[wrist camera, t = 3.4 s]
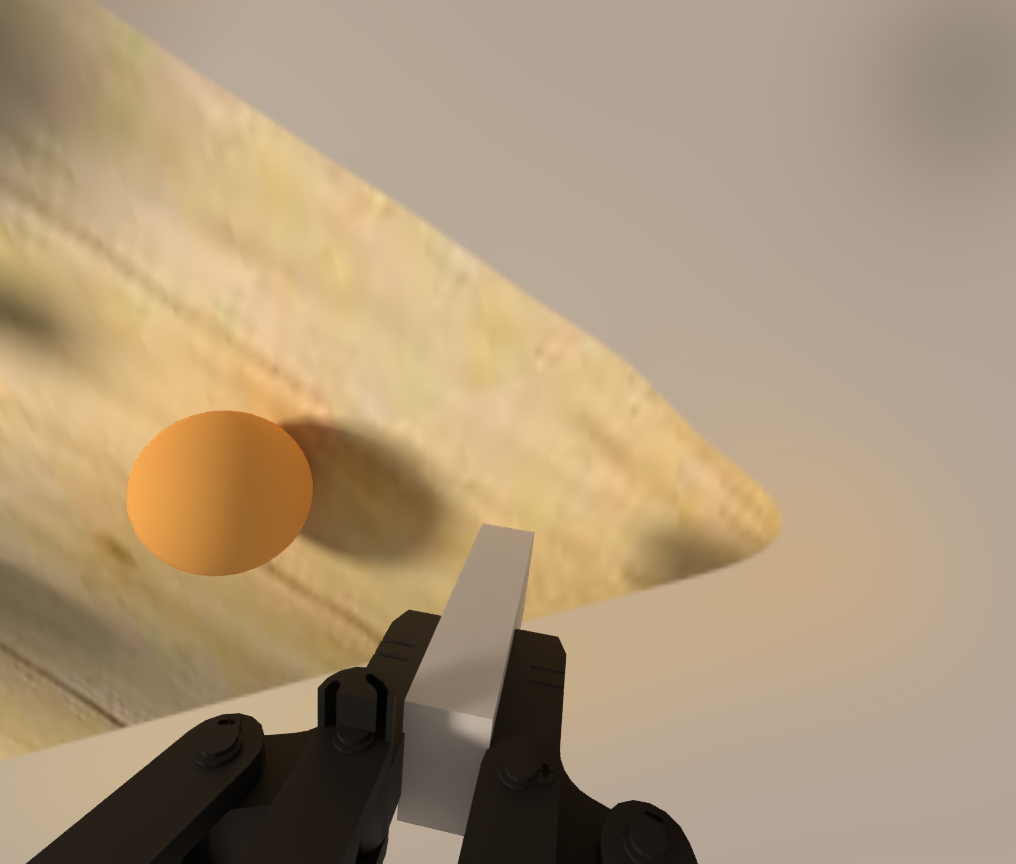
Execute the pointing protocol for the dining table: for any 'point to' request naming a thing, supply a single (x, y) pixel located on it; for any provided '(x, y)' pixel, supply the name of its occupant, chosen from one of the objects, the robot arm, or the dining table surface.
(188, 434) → the ball
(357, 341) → the dining table surface
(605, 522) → the dining table surface
